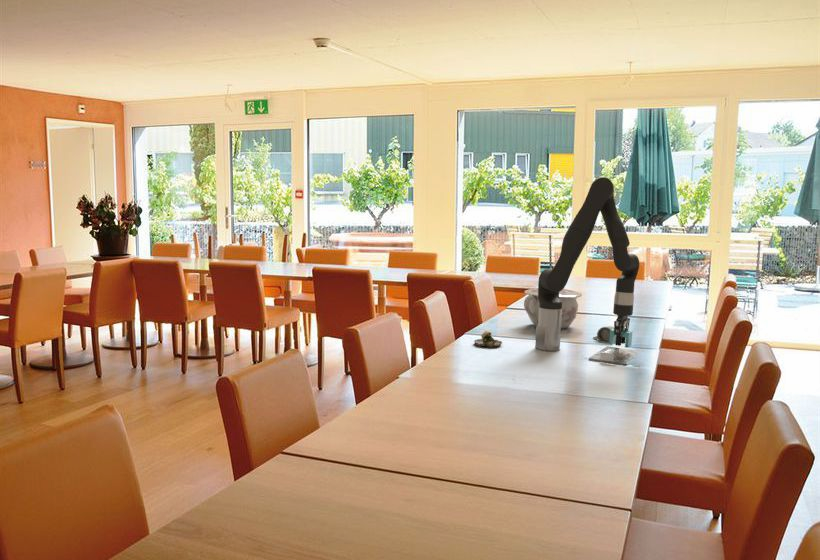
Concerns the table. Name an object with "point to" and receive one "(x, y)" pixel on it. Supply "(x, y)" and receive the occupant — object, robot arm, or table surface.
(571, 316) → the chamber pot
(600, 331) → the ceramic mug
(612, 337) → the block
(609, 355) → the base
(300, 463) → the table surface
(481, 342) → the mottled brown knobbed disc
